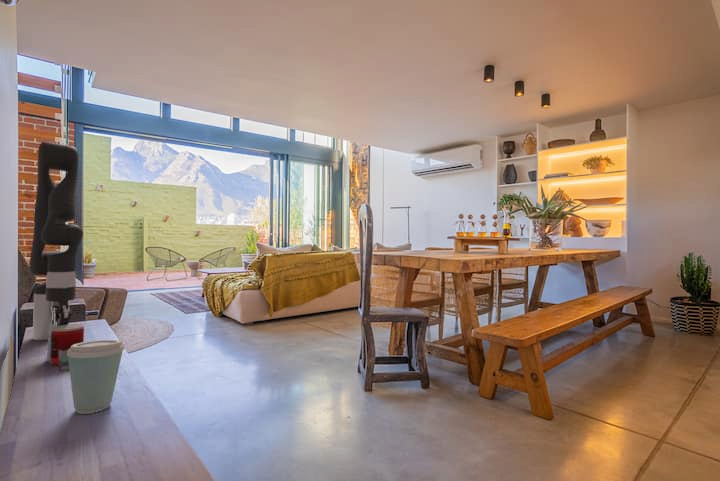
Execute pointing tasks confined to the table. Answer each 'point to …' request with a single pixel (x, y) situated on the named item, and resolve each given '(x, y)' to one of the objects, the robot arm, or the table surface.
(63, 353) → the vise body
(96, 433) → the table surface
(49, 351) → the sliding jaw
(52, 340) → the canned food
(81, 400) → the disposable coffee cup
